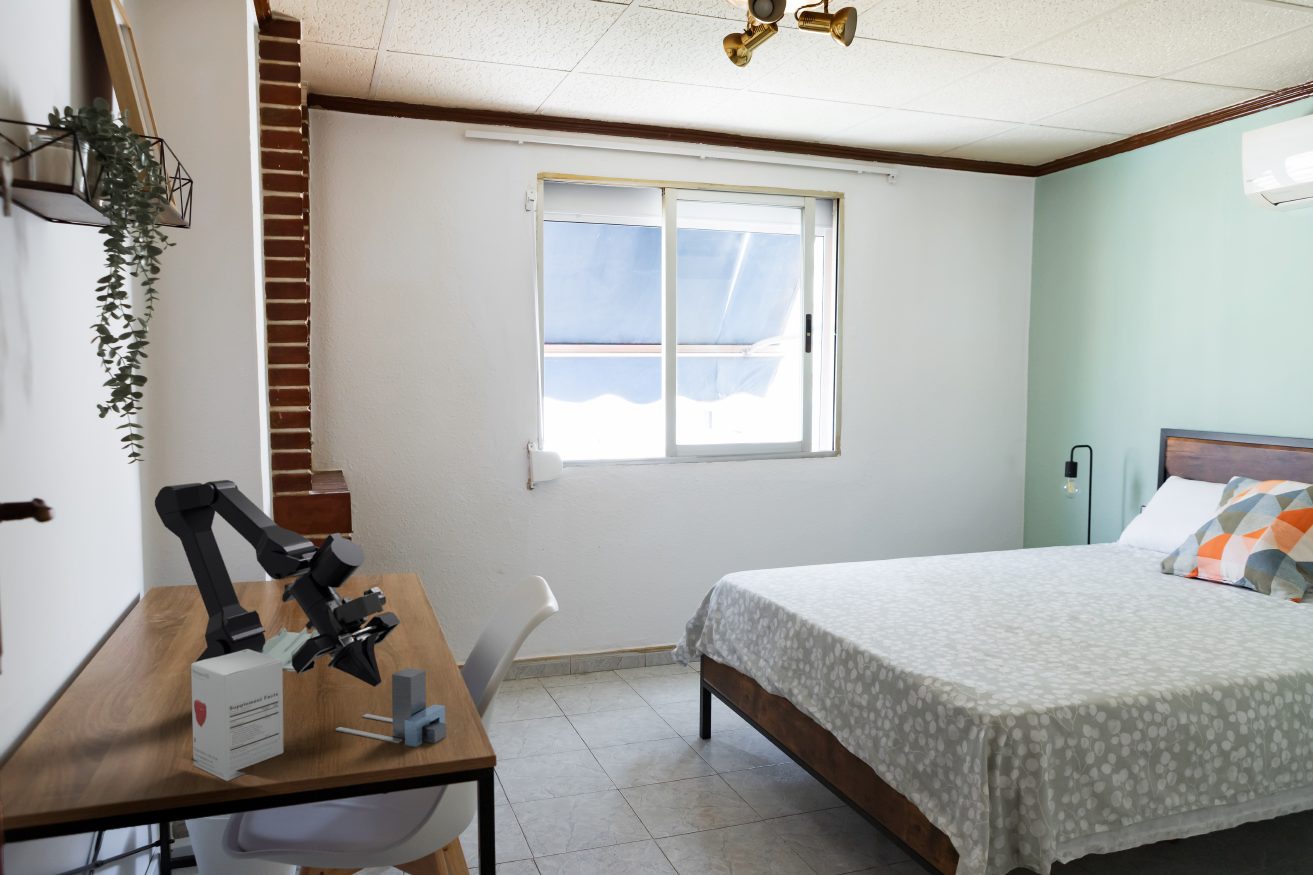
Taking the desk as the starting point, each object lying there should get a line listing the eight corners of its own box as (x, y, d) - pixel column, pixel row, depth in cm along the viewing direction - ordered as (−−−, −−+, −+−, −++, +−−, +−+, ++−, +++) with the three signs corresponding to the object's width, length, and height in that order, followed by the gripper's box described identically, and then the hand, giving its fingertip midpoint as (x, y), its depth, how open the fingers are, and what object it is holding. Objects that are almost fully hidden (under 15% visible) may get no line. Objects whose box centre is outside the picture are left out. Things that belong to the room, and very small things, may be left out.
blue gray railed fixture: (333, 737, 135) (332, 706, 135) (366, 720, 142) (366, 691, 142) (415, 754, 129) (414, 722, 129) (446, 735, 136) (445, 705, 136)
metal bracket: (272, 621, 181) (338, 625, 178) (278, 645, 183) (343, 650, 180) (227, 660, 168) (298, 666, 165) (234, 686, 170) (303, 692, 167)
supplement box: (190, 766, 125) (188, 662, 124) (250, 745, 132) (248, 647, 131) (225, 782, 120) (223, 674, 119) (285, 759, 127) (284, 658, 126)
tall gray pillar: (392, 735, 133) (392, 674, 133) (407, 727, 136) (407, 667, 136) (433, 743, 130) (432, 681, 130) (447, 735, 134) (447, 673, 133)
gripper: (306, 586, 129) (365, 671, 125) (391, 563, 146) (445, 637, 142) (266, 631, 132) (322, 716, 128) (353, 604, 149) (406, 677, 146)
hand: (378, 684), depth 136 cm, fingers closed
